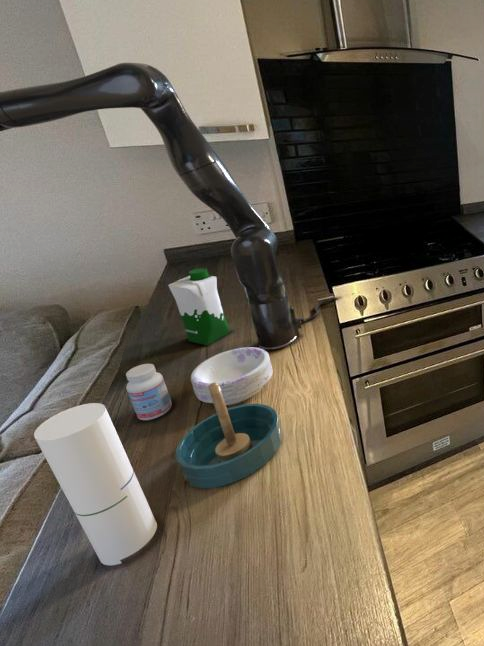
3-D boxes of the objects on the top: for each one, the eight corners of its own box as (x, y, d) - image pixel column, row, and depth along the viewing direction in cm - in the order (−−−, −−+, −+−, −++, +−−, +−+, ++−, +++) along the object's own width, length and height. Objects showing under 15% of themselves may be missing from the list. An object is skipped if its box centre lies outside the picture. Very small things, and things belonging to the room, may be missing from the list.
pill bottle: (131, 423, 94) (114, 381, 90) (147, 404, 100) (131, 363, 96) (165, 418, 96) (148, 376, 92) (178, 399, 101) (163, 359, 97)
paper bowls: (280, 366, 113) (273, 340, 110) (269, 405, 100) (261, 376, 97) (210, 379, 108) (201, 352, 105) (189, 422, 95) (179, 393, 92)
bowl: (255, 413, 97) (250, 393, 95) (299, 443, 89) (294, 422, 87) (168, 466, 84) (159, 444, 82) (210, 506, 76) (202, 483, 74)
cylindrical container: (169, 520, 74) (119, 402, 65) (134, 564, 67) (72, 439, 58) (125, 521, 74) (69, 403, 65) (86, 566, 67) (17, 441, 58)
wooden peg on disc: (242, 436, 90) (221, 370, 84) (257, 447, 87) (237, 380, 81) (212, 455, 86) (188, 386, 80) (227, 467, 83) (203, 397, 77)
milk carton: (235, 331, 128) (218, 269, 121) (205, 348, 120) (184, 283, 113) (213, 326, 131) (194, 265, 124) (182, 342, 123) (160, 278, 115)
